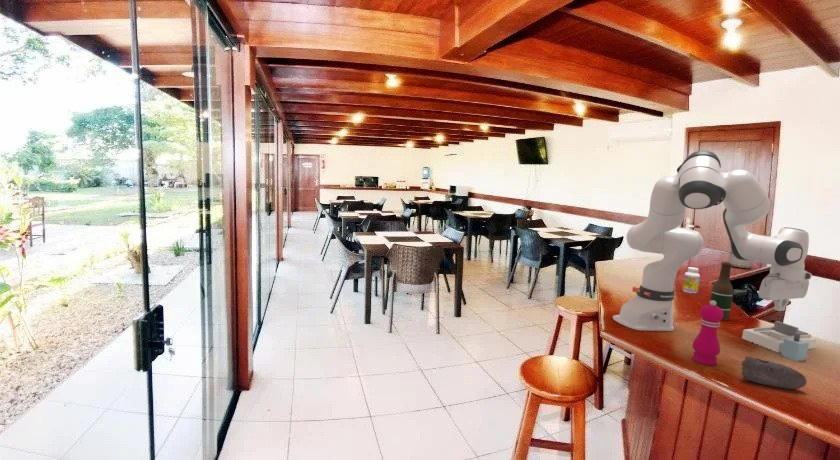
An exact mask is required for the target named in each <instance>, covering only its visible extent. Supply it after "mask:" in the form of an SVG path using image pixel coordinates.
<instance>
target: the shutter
mask: <svg viewBox="0 0 840 460" xmlns="http://www.w3.org/2000/svg"><path fill="white" fill-rule="evenodd" d="M773 326H774V330H777V331H779V332H782V333H785V334H788V335H791V336H794V335H795V333H799V334H801V335H805V334H809V333H808V332H806V331H802V330H800V329H799V327H798V326H797V327H796V326H794V325H791V324H788V323H785V322H783V321H782V322H781V321H779V320H775V321H774V324H773Z"/></svg>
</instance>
